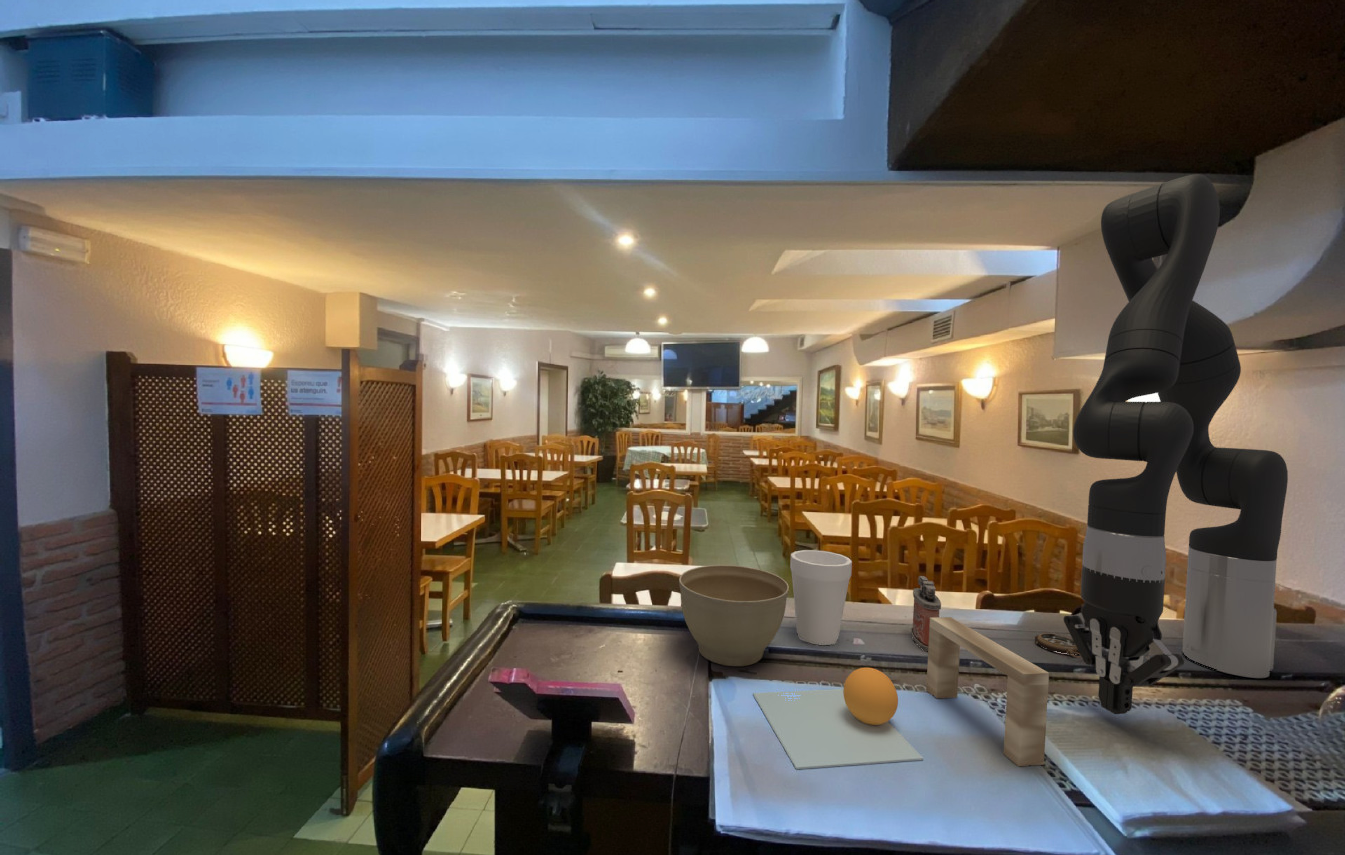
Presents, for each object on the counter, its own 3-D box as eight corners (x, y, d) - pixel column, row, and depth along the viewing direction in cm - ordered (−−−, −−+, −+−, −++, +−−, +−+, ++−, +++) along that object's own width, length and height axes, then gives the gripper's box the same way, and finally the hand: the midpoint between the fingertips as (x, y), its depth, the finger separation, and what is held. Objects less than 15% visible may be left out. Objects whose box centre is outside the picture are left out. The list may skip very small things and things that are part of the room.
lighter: (943, 654, 80) (946, 589, 80) (919, 651, 81) (922, 587, 80) (928, 633, 88) (931, 574, 88) (907, 631, 89) (910, 572, 88)
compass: (1026, 638, 88) (1028, 595, 87) (1077, 642, 87) (1079, 599, 86) (1055, 660, 80) (1057, 613, 79) (1111, 665, 79) (1114, 617, 79)
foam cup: (848, 631, 87) (851, 554, 87) (847, 654, 79) (851, 569, 78) (790, 622, 90) (793, 547, 90) (783, 643, 82) (787, 561, 81)
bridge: (946, 689, 69) (950, 617, 69) (1043, 764, 55) (1049, 673, 54) (926, 690, 69) (929, 617, 69) (1018, 766, 54) (1023, 674, 54)
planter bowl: (654, 650, 78) (656, 578, 77) (721, 622, 89) (724, 559, 89) (741, 693, 66) (745, 609, 66) (806, 655, 78) (809, 583, 78)
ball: (828, 693, 64) (872, 710, 65) (845, 725, 58) (893, 744, 59) (849, 650, 64) (893, 668, 64) (867, 678, 58) (916, 698, 58)
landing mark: (855, 689, 68) (855, 688, 68) (923, 760, 55) (923, 758, 55) (752, 694, 66) (752, 693, 66) (796, 769, 52) (796, 767, 52)
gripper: (1213, 585, 57) (1203, 743, 57) (1096, 553, 70) (1088, 681, 70) (1155, 586, 55) (1145, 747, 56) (1047, 553, 68) (1039, 683, 69)
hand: (1113, 710), depth 63 cm, fingers closed
